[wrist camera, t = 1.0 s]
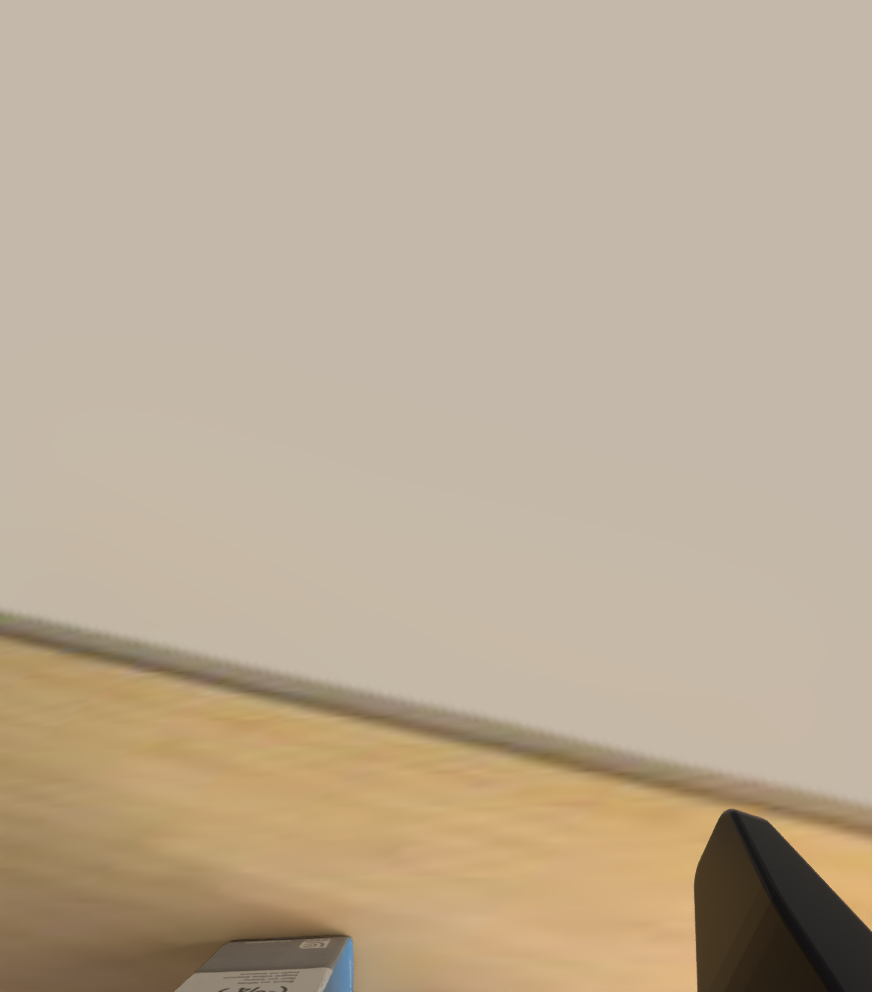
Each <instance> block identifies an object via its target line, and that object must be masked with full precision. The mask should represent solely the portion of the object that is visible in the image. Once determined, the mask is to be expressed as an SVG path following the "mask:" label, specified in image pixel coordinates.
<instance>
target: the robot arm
mask: <svg viewBox="0 0 872 992" xmlns="http://www.w3.org/2000/svg"><path fill="white" fill-rule="evenodd" d="M694 903H695V933H696V962H697V992H872V931H871V930H870V929H869V928H868V927H867V926H866V925H865V924H864V923H863V922H862V921H861V920H860V918H859V917H858V916H857V915H856V914H855V913H854V912H853V911H852V910H851V909H850V908H849V907H848V906H847V905H846V904H845V902H844V901H843V900H842V899H841V898H840V897H839V896H838V895H837V894H836V893H835V892H834V891H833V890H832V889H831V888H830V887H829V885H828V884H827V883H826V882H825V881H824V880H823V879H822V878H821V877H820V876H819V875H818V874H817V873H816V872H815V871H814V869H813V868H812V867H811V866H810V865H809V864H808V863H807V862H806V861H805V860H804V859H803V858H802V857H801V856H800V855H799V853H798V852H797V851H796V850H795V849H794V848H793V847H792V846H791V845H790V844H789V843H788V842H787V841H786V840H785V839H784V838H783V836H782V835H781V834H780V833H779V832H778V831H777V830H776V829H775V828H774V827H773V826H772V825H771V824H770V823H769V822H768V821H767V820H765V819H763V818H760V817H757V816H754V815H751V814H748V813H745V812H741V811H738V810H735V809H729V810H726V811H724V812H723V814H722V815H721V816H720V818H719V820H718V822H717V824H716V826H715V828H714V830H713V833H712V835H711V837H710V839H709V841H708V843H707V846H706V848H705V850H704V852H703V854H702V856H701V859H700V861H699V863H698V866H697V869H696V874H695V880H694Z"/></svg>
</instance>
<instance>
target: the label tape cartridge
mask: <svg viewBox="0 0 872 992" xmlns="http://www.w3.org/2000/svg"><path fill="white" fill-rule="evenodd" d="M174 992H353V941H352V938H351V937H350V936H316V937H298V938H278V939H249V940H235V941H230V942H228V943H226V944H225V945H224V946H223V947H222V948H220V949H219V950H218V951H217V952H216V953H215V954H214V955H213V956H212V957H211V958H210V959H209V960H208V961H207V962H205V963H204V964H203V965H202V966H201V967H200V968H199V969H198V970H197V971H196V972H195V973H194V974H193V975H192V976H191V977H189V978H188V979H187V980H186V981H185V982H184V983H183V984H182V985H181V986H180V987H179V988H177V989H176V990H175V991H174Z"/></svg>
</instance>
